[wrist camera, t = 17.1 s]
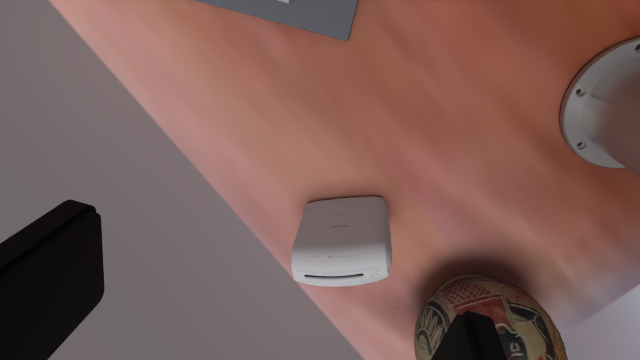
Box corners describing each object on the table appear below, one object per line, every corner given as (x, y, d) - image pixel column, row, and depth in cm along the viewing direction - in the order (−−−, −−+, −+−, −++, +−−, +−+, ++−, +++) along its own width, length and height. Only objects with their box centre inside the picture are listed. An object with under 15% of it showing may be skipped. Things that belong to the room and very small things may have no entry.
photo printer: (387, 191, 44) (391, 257, 33) (390, 222, 46) (395, 294, 35) (302, 198, 46) (279, 262, 35) (308, 228, 48) (288, 297, 37)
